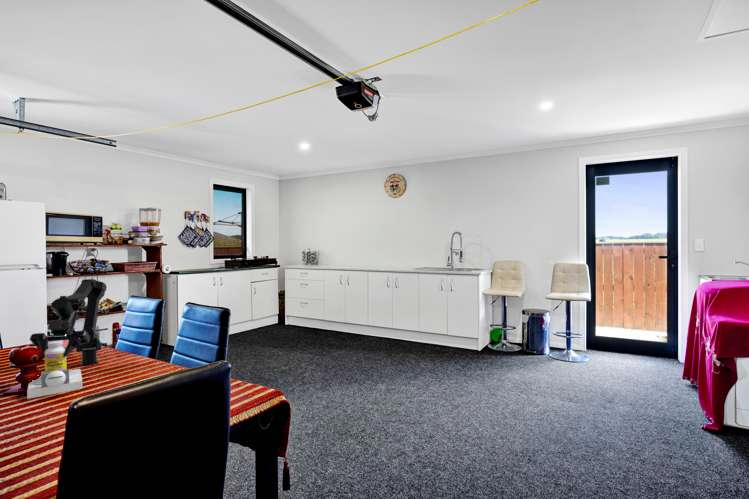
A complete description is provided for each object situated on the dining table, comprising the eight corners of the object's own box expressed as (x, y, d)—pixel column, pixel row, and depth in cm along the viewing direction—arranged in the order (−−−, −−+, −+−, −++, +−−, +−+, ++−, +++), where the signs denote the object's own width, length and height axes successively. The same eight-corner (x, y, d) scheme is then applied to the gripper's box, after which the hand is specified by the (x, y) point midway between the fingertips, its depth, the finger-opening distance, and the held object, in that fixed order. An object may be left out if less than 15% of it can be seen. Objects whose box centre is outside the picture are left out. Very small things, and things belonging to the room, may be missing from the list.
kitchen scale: (30, 384, 160) (30, 363, 160) (80, 375, 170) (80, 355, 170) (27, 399, 143) (26, 375, 143) (82, 389, 153) (82, 367, 153)
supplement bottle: (43, 378, 152) (42, 344, 152) (47, 373, 158) (46, 341, 158) (65, 375, 156) (64, 342, 156) (68, 370, 161) (67, 339, 161)
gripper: (31, 313, 158) (16, 348, 147) (86, 310, 163) (75, 344, 153) (42, 329, 165) (28, 363, 155) (94, 326, 171) (84, 359, 160)
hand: (54, 357), depth 156 cm, fingers closed on supplement bottle, 7 cm apart
